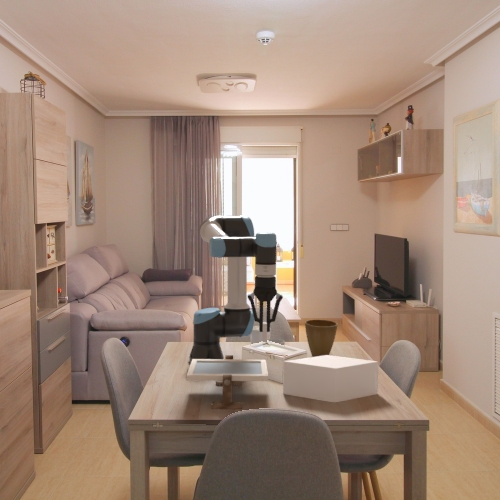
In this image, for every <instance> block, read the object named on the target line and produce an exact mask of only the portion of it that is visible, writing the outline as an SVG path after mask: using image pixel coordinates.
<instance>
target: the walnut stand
mask: <svg viewBox="0 0 500 500" xmlns="http://www.w3.org/2000/svg"><path fill="white" fill-rule="evenodd" d="M224 357H225V358H224V359H234V355H232V354H231V355H225V356H224ZM215 386H222V401H212V405H211V409H212V410H213V409H217V410H218V409H220V410H222V409H223V410H224V409H225V410H226V409H227V410H228V409H229V410H233V409H234V410H241V409H242V408H243V405H242V403H243V402H242V401H232V399H233V397H232V394H233V393H232V392H233V391H232V389H233V388H232V386H243V381H232V375H223V381H215Z"/></svg>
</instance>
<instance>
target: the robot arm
mask: <svg viewBox="0 0 500 500" xmlns="http://www.w3.org/2000/svg"><path fill="white" fill-rule="evenodd" d="M198 227H199V228H198V233H199V237H200V238H201V239H202V240H203V242H205V243H208V251H209V256H210V257H212V258H220V259H221V258H227V302H226V304H225V305H224V307H223V310H222V311H221V309H220V308H218V307H208V308H207V307H205V308H202V309H198V310H196V311H195V312H194V313H193V322H192V325H193V343H192V348H191V351H190V353H189V357H188V358H189V360H188V361H189V363H190V364H191V361H192V359H225V358H224V357H225V356H224V354H223V351H222V348H221V343H220V341H221V340H220V339H221V338H237V337H238V338H241V337H248V336H250V334H251V332H252V330H253V326H255V322H256V323H259V325H258V326H259V331H260V332H262V341H263V342H267V332H270V333H271V330H270V328H271V323H275V322H276V319H277V316H278V315H277V314H278V311H279V308H280V307H279V306H280V305H281V304H280V303H281V301H282V300H283V298H284V296H283V295H282V294H280V293H279V292H278V291H277V287H276V285H277V278H276V275H277V244H278V242H277V235H276V233H274V232H257V233H256V234H255V228H254V224H253V221H252V219H251V218H250V217H249V216H248V215H247V216H246V215H213V216H210V217H208V218H206V219H205V220H203V221H202V222H201V223H200V226H198ZM247 258H254V259H255V260H254V261H255V262H254V263H255V264H254V274H255V275H256V276H255V277H254V288H253V292H251V293H249V294H247V291H248V289H247V282H248V281H247V280H248V279H247V278H248V277H247V273H248V272H247V271H248V269H247V263H248V262H247V260H248V259H247ZM255 297H256V299H257V300H258V302H259V317H258V313H257V308H256V305H255V300H254V299H255ZM274 298H275V299H276V300H275V304H274V308H273V311H272V315H271V302H272V301H273V299H274ZM247 299H248V301H249V302H250V305H251V306H250V305H249V304H248V302H247ZM264 302H265V303H266V321H264Z"/></svg>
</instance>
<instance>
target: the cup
mask: <svg viewBox="0 0 500 500" xmlns="http://www.w3.org/2000/svg"><path fill="white" fill-rule="evenodd" d="M268 340H269V341H272V342H275V343H279V344H281V345H284V346H285V343H286V341H285V340H284V339H280V338H270V339H268Z"/></svg>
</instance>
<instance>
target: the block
mask: <svg viewBox="0 0 500 500" xmlns="http://www.w3.org/2000/svg"><path fill="white" fill-rule="evenodd" d="M282 368H283V371H282V373H283V377H282V378H283V380H282V381H283V382H282V386H283V387H282V394H283V395H288V396H292V397H299V398H305V399H312V400H318V401H324V402H330V403H340V402H344V401H349V400H355V399H359V398H365V397H370V396H374V395H378V391H379V389H378V388H379V361H376V360H369V359H362V358H354V357H348V356H347V357H345V356H338V355H330V354H329V355H323V356H316V357H312V356H311V357H304V358H303V357H302V358H296V359H289V360H283V367H282Z"/></svg>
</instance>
